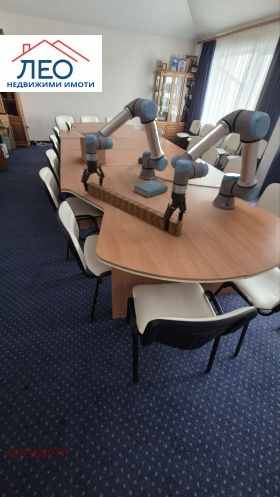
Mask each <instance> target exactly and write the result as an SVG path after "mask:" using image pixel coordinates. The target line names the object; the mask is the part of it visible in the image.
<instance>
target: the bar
mask: <svg viewBox="0 0 280 497" xmlns="http://www.w3.org/2000/svg"><path fill="white" fill-rule="evenodd" d="M87 184H88V192H87V193H88V194H90V195H92V196H94V197H96V198H98V199H100V200H102V201H104V202H106V203H108V204H110V205H111V206H114V207H116V208H118V209H120V210H122V211H124V212H126V213H128V214H131V215H132V216H135V217H136V218H139V219H141V220H142V221H145V222H147V223H149V224H151V225H152V226H154V227H157V228H159V229H161V230H162V231H165V230H164V224H165V221H163V220H162V219H163V217H164V214H165V212H164V213H163V212H162V211H159V210H158V209H155V208H153V207H150V206H148V205H146V204H144V203H141V202H140V201H138V200H135V199H132V198H130V197H128V196H126V195H124V194H121V193H119V192H117V191H114V190H112V189H110V188H107V187H105V186H104V185H102V186H101V185H99V183H96V182H95V181H89V182H88V181H87ZM169 221H170V224H169V230H168V232H167V233H169V234H171V235H172V236H175V237H178V236H180V235H181V234H182V231H183V226H184V221H183V220H182V221H180V220H178V218H175V217H173V216H171V218H170V220H169Z"/></svg>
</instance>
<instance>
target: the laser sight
mask: <svg viewBox="0 0 280 497" xmlns="http://www.w3.org/2000/svg"><path fill="white" fill-rule="evenodd" d="M142 158H143V156H141V157H140V156H139V157H138V159H137V162H138V164H141V165H142Z"/></svg>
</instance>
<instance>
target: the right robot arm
mask: <svg viewBox="0 0 280 497" xmlns="http://www.w3.org/2000/svg"><path fill="white" fill-rule="evenodd" d="M270 126H271V117H270V116H269V114H268V113H267V112H263V111H261V110H251V109H243V108H240V109H236V110H233V111H231V112H229V113H227V114H226V115H224V116H222V118H220V119H219V120H218V121H217V122H216V125H215V126H214V127H212V128H211V129H210V130H209V131H208V132H207V133H205V134H204V135H203V136H201V138H199V139H198V140H197V141H196V142H195V143H193V144H192V145H191V146H190V147H189V148H187V150H186V151H184V152H183V153H182V154H175V155H173V156H172V158H171V160H170V165H171V166H170V167H172V168H173V169H174V173H173V180H172V181H173V182H172V185H171V194H170V199H171V202H168V203H167V206H166V209H165V212H164V217H163V219H162V220H163V221H165V224H164V230H163V231H165V232H167V233H169V232H168V230H169V224H170V221H169V220H170V218H171V217H173V214H174V213H175V212H176V211H177V209H178V210H179V212H178V215H177V220H180V221H182V222H183V219H184V214H186V213H187V209H188V208H187V197H186V195H187V190H188V184H189V181H190V180H195V179H196V180H197V179H201V178H205V177H207V175H208V174H209V170H210V168H209V165H208V163H206V162H202V161H200V162H197V160H198V159H200V158H201V157H202V156H203V155H204V154H205V153H207V152H208V151H209V150H210V149H211V148H213V146H215V145H216V144H217V143H218V142H220V141H221V140H222V139H223V138H227V137H228V136H229V135H231V134H237V135H239V142H240V143H241V156H240V173H233V172H231V173H225V174H223V176H222V179H221V183H220V186H219V187H220V188H218V189H219V190H218V194H216V196H215V198H214V199H213V201H212V205H213V206H215V207H216V208H218V209H222V210H232V209H234V208H235V202H236V198H238V199H240V200H242V201H245V202H253V200H255V199H256V198H257V196H258V195H259V194H260V191H261V186H260V185H259V184H258V179H257V177H256V172H257V163H258V155H259V146H260V142H261V141H262V140H263V138H264V137H265V136H266V135H267V133H268V131H269V130H270Z"/></svg>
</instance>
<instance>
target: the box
mask: <svg viewBox="0 0 280 497" xmlns="http://www.w3.org/2000/svg"><path fill="white" fill-rule="evenodd" d="M96 132H97V131H95V130H92V129H91V130H77V132H76V131H70V133H71V134H72V135H74V136H75V137H77V138H79V144H80V153H81V160H83V162H85V163H86V164H87V159H86V148H85V136H86V135H90V134H92V133H96ZM109 137H110V138H113V137H114V136H113V135H110V136H109ZM106 158H107V157H106V150H97V161H98V165H106V163H107V162H106Z"/></svg>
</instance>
